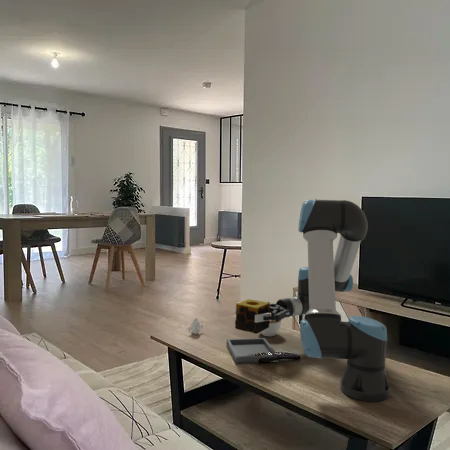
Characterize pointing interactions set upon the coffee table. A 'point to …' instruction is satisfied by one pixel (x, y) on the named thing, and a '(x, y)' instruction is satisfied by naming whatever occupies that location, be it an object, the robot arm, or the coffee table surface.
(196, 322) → the rocket toy
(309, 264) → the robot arm
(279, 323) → the lidded jar
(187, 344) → the coffee table surface
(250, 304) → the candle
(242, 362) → the tray
